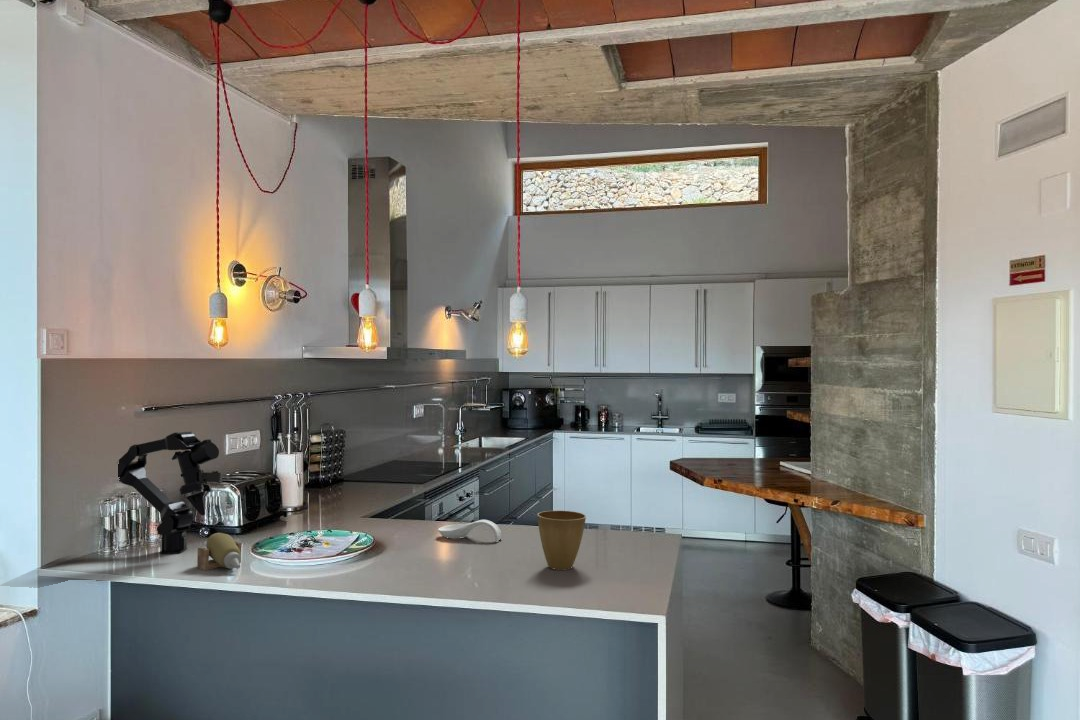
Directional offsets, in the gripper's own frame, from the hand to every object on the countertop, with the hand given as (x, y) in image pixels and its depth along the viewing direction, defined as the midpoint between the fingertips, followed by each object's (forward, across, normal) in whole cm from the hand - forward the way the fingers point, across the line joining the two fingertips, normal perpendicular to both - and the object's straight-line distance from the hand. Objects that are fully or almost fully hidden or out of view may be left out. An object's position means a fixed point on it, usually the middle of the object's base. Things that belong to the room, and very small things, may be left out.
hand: (203, 515), depth 229 cm
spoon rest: (+38, +7, -80) cm, 88 cm away
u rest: (+17, -12, -2) cm, 21 cm away
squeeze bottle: (+10, -9, -3) cm, 14 cm away
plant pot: (+52, -36, -97) cm, 116 cm away
